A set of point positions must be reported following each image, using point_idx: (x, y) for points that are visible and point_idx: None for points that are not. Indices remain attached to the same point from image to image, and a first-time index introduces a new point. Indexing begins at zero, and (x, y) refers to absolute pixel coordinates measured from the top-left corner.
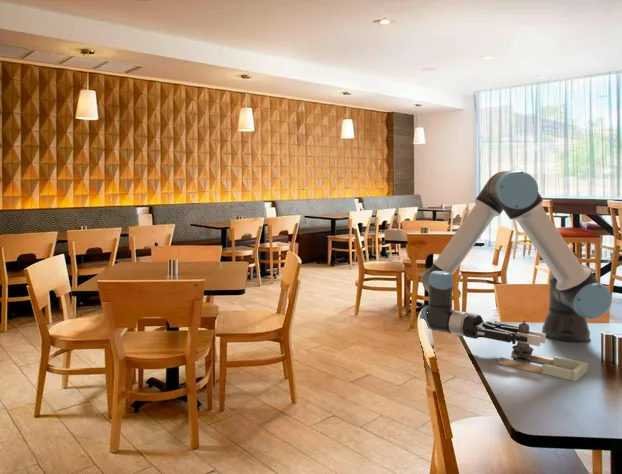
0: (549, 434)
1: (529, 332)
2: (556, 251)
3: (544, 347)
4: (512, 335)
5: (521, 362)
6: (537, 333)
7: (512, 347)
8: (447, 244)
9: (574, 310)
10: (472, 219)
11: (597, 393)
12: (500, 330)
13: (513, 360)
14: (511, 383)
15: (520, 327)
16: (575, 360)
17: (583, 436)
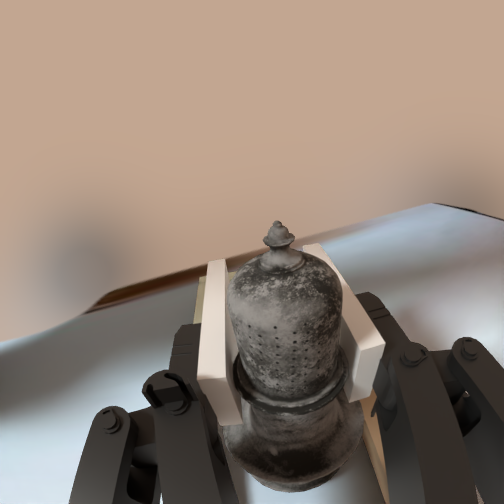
0: (495, 219)
1: (226, 334)
2: None
3: (19, 439)
4: (436, 354)
5: (367, 402)
6: (225, 289)
7: (344, 461)
8: None
9: None
10: None
11: (336, 244)
12: (471, 485)
13: (379, 437)
14: (489, 321)
15: (341, 301)
16: (197, 296)
17: (462, 210)
